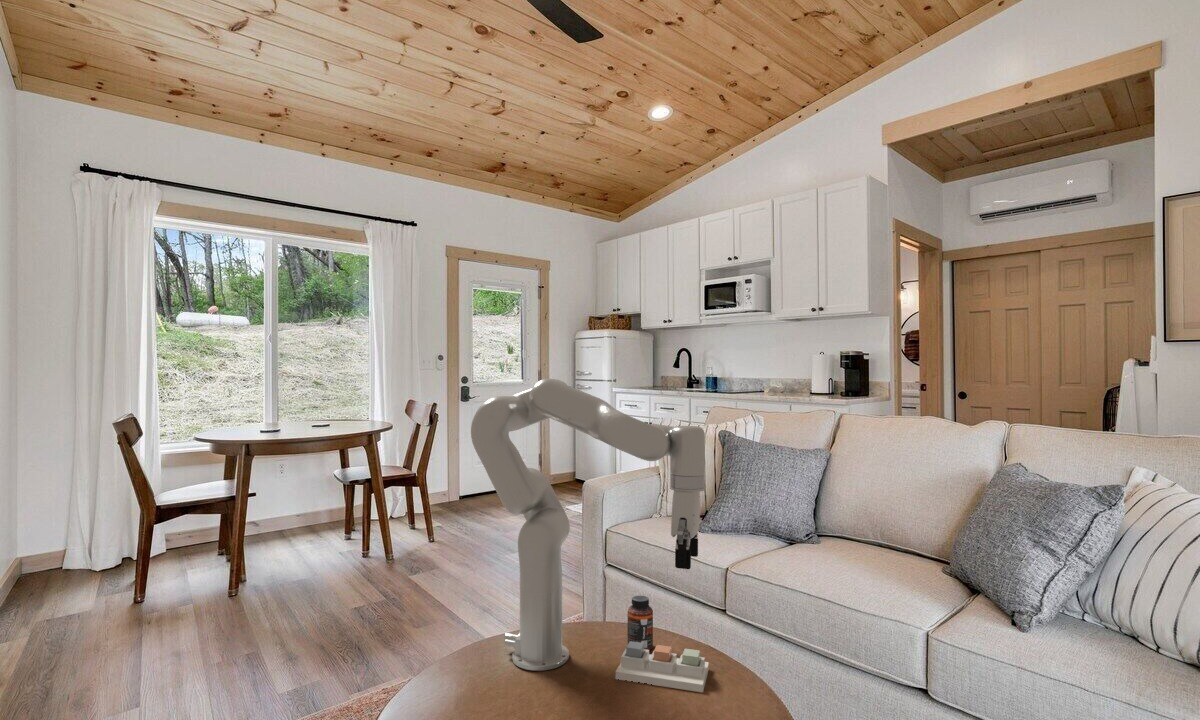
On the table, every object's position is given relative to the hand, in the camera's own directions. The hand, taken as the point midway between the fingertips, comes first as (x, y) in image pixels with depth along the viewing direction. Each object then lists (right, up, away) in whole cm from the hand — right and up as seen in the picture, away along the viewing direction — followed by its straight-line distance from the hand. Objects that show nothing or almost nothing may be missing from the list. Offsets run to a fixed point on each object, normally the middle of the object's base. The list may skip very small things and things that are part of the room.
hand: (686, 561), depth 125 cm
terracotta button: (-6, -20, -4) cm, 21 cm away
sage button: (0, -20, -6) cm, 20 cm away
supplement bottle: (-10, -23, +9) cm, 27 cm away
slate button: (-11, -20, -2) cm, 23 cm away
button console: (-6, -22, -4) cm, 23 cm away
